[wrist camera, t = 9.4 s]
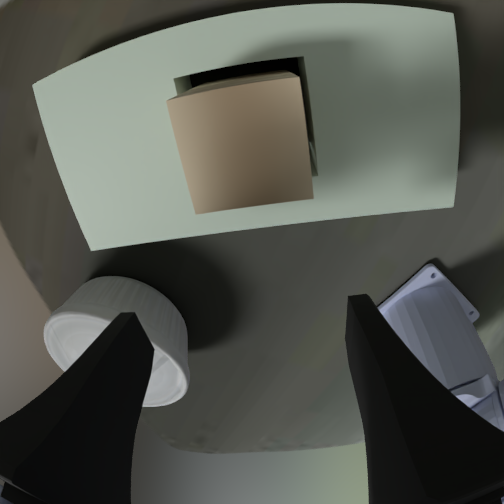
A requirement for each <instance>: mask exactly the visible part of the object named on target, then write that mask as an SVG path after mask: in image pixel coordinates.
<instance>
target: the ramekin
mask: <svg viewBox="0 0 504 504" xmlns="http://www.w3.org/2000/svg"><path fill="white" fill-rule="evenodd" d="M121 312H135V313H136V315H137V317H138V319H139V321H140V323H141V325H142V327H143V329H144V330H145V332H146V334H147V336H148V338H149V340H150V342H151V343H152V345H153V347H154V349H155V351H154V359H153V366H152V372H151V377H150V380H149V384H148V388H147V391H146V395H145V398H144V402H143V405H142V406H143V407H155V406H163V405H168V404H171V403H174V402H176V401H178V400H179V399H181V398H182V397H183V396H184V395H185V393H186V392H187V390H188V386H189V380H190V372H189V367H188V364H187V363H188V335H187V329H186V325H185V321H184V319H183V318H182V316H181V314H180V312H179V311H178V310H177V308H176V307H175V306H174V304H173V303H172V302H171V301H170V300H169V299H168V298H167V297H165V296H164V295H163V294H162V293H160V292H159V291H157V290H156V289H154V288H153V287H151V286H149V285H147V284H145V283H143V282H140V281H138V280H135V279H132V278H127V277H122V276H103V277H98V278H95V279H92V280H89V281H88V282H86V283H84V284H83V285H82V286H81V287H80V288H79V289H78V290H77V291H76V292H75V293H74V294H73V295H72V296H71V297H70V298H69V299H68V300H67V301H66V302H65V303H64V304H63V306H61V307H59V308H58V309H56V310H55V311H54V312H53V313H52V314H51V316H50V317H49V319H48V320H47V322H46V325H45V327H44V341H45V344H46V347H47V350H48V352H49V353H50V355H51V356H52V358H53V359H54V361H55V362H56V363H57V364H58V365H59V367H60V368H62V370H63V371H64V372H65V371H66V370H67V369H68V368H69V367H70V366H71V365H72V364H73V363H74V362H75V361H76V360H77V359H78V358H79V357H80V356H81V355H82V354H83V352H84V351H85V350H86V349H87V348H88V347H89V346H90V345H91V344H92V342H93V341H94V340H95V339H96V338H97V337H98V336H99V335H100V334H101V333H102V331H103V330H104V329H105V328H106V327H107V326H108V325H109V324H110V323H111V322H112V321H113V320H114V318H115V317H116V316H117V315H119V314H120V313H121Z"/></svg>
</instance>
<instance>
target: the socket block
mask: <svg viewBox="0 0 504 504" xmlns="http://www.w3.org/2000/svg"><path fill="white" fill-rule="evenodd" d="M290 57H297V60H298V67H299V73H300V80H301V87H302V94H303V101H304V109H305V117H306V125H307V133H308V142H309V151H310V164H311V174H312V184H313V194H314V199H309V200H301V201H292V202H284V203H276V204H268V205H261V206H253V207H246V208H238V209H231V210H224V211H217V212H210V213H204V214H197V215H196V214H195V210H194V207H193V203H192V200H191V196H190V192H189V189H188V185H187V181H186V178H185V174H184V170H183V167H182V163H181V159H180V155H179V151H178V147H177V144H176V140H175V136H174V132H173V128H172V124H171V120H170V116H169V112H168V108H167V103H166V101H167V100H169V99H171V98H173V97H175V96H177V95H179V94H181V93H183V92H186V91H188V90H190V89H192V84H191V80H190V74H194V73H198V72H203V71H208V70H212V69H217V68H222V67H228V66H233V65H239V64H245V63H251V62H258V61H265V60H273V59H281V58H290ZM32 86H33V90H34V94H35V98H36V101H37V105H38V109H39V112H40V116H41V119H42V123H43V126H44V129H45V133H46V136H47V139H48V142H49V145H50V148H51V151H52V154H53V157H54V160H55V163H56V166H57V169H58V172H59V174H60V177H61V180H62V182H63V185H64V188H65V190H66V193H67V195H68V198H69V200H70V203H71V205H72V208H73V210H74V213H75V215H76V217H77V220H78V222H79V224H80V227H81V229H82V231H83V234H84V236H85V238H86V240H87V242H88V245H89V247H90V249H91V251H94V250H101V249H107V248H114V247H121V246H128V245H134V244H141V243H148V242H155V241H163V240H170V239H177V238H184V237H192V236H199V235H207V234H214V233H222V232H230V231H238V230H245V229H253V228H262V227H270V226H278V225H286V224H295V223H303V222H312V221H321V220H330V219H339V218H348V217H357V216H367V215H376V214H386V213H396V212H406V211H417V210H427V209H438V208H449V207H453V206H454V198H455V190H456V181H457V170H458V158H459V141H460V76H459V59H458V47H457V37H456V29H455V21H454V14H453V13H449V12H443V11H437V10H431V9H424V8H416V7H407V6H397V5H383V4H362V3H327V4H305V5H292V6H281V7H272V8H264V9H256V10H250V11H243V12H237V13H232V14H226V15H221V16H216V17H211V18H207V19H202V20H198V21H194V22H190V23H186V24H182V25H178V26H174V27H171V28H167V29H164V30H161V31H157V32H154V33H151V34H148V35H145V36H142V37H139V38H136V39H133V40H130V41H127V42H124V43H122V44H119V45H116V46H114V47H111V48H109V49H106V50H104V51H101V52H99V53H96V54H94V55H92V56H89V57H87V58H85V59H83V60H80V61H78V62H76V63H74V64H72V65H70V66H67V67H65V68H63V69H61V70H59V71H57V72H55V73H53V74H51V75H50V76H48V77H46V78H44V79H42V80H40V81H38V82H36V83H35V84H33V85H32Z"/></svg>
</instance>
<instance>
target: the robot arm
mask: <svg viewBox="0 0 504 504" xmlns="http://www.w3.org/2000/svg"><path fill="white" fill-rule="evenodd" d="M433 273H434V274H433ZM432 274H433V275H432ZM479 315H480V314H479V312H478V311H477V309H476V308H475V307H474V306H473V305H472V304H471V303H470V302H469V301H468V300H467V299H466V297H465V296H464V295H463V294H462V293H461V292H460V291H459V290H458V289H457V288H456V287H455V286H454V285H453V284H452V283H451V282H450V281H449V279H448V278H447V277H446V276H445V275H444V274H443V273H442V272H441V271H440V270H439V269H438V268H437V267H436V266H435V265H434V264H431V263H430V264H427V265H426V266H424V267H423V268H422V269H421V270H420V271H419V272H418V273H417V274H416V275H414V276H413V277H412V278H411V279H410V280H409V281H408V282H407V283H406V284H404V285H403V286H402V287H401V288H400V289H399V290H398V291H396V292H395V293H394V294H393V295H392V296H391V297H389V298H388V299H387V300H386V301H385V302H383V303H382V304H381V305H380V306H379V307H376V305H375V304H374V302H373V301H372V299H371V298H370V296H368V295H367V294H361V295H353V296H348V305H347V320H346V334H345V341H346V348H347V355H348V362H349V368H350V372H351V376H352V380H353V384H354V388H355V392H356V396H357V400H358V405H359V409H360V413H361V418H362V422H363V428H364V435H365V444H366V455H367V468H368V487H369V488H368V489H369V504H504V379H503V380H502V381H501V382H500V381H499V380H498V379H497V374H496V371H495V368H494V366H493V364H492V362H491V359H490V357H489V355H488V353H487V351H486V349H485V347H484V345H483V343H482V341H481V339H480V337H479V335H478V333H477V331H476V329H475V327H474V325H473V324H472V323H473V322H474V321H476V320H477V319H478V318H479ZM154 351H155V349H154V347H153V345H152V343H151V342H150V340H149V338H148V336H147V334H146V332H145V330H144V329H143V327H142V325H141V323H140V321H139V319H138V317H137V315H136V313H135V312H121V313H120V314H119V315H117V316H116V317H115V318H114V320H113V321H112V322H111V323H110V324H109V325H108V326H107V327H106V328H105V329H104V330H103V331H102V333H101V334H100V335H99V336H98V337H97V338H96V339H95V340H94V341H93V342H92V344H91V345H90V346H89V347H88V348H87V349H86V350H85V351H84V352H83V354H82V355H81V356H80V357H79V358H78V359H77V360H76V361H75V362H74V363H73V364H72V365H71V366H70V367H69V368H68V369H67V370H66V371H65V372H64V373H63V374H62V375H61V377H59V378H58V379H57V380H56V381H55V382H54V383H53V384H52V385H51V386H50V387H48V388H47V389H46V390H45V391H44V392H43V393H41V394H40V395H39V396H38V397H36V398H35V399H34V400H32V401H31V402H30V403H28V404H27V405H26V406H24V407H23V408H22V409H21V410H19V411H17V412H16V413H14V414H13V415H11V416H9V417H8V418H6V419H5V420H3V421H1V422H0V479H1V480H3V481H5V483H4V486H2V485H0V504H131V467H132V455H133V446H134V439H135V433H136V428H137V424H138V420H139V416H140V413H141V409H142V405H143V402H144V398H145V395H146V391H147V388H148V384H149V380H150V377H151V372H152V366H153V359H154Z"/></svg>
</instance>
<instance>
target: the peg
mask: <svg viewBox="0 0 504 504" xmlns="http://www.w3.org/2000/svg"><path fill="white" fill-rule="evenodd" d="M166 103H167V108H168V112H169V116H170V120H171V124H172V128H173V132H174V136H175V140H176V144H177V147H178V151H179V155H180V159H181V163H182V167H183V170H184V174H185V178H186V181H187V185H188V189H189V192H190V196H191V200H192V203H193V207H194V210H195V214H196V215H197V214H204V213H210V212H217V211H224V210H231V209H238V208H246V207H253V206H261V205H268V204H276V203H284V202H292V201H301V200H309V199H314V194H313V184H312V174H311V164H310V155H309V146H308V137H307V129H306V121H305V113H304V106H303V98H302V91H301V84H300V78H299V77H298V76H297V75H295V74H293V73H291V72H289V71H287V70H277V71H269V72H262V73H255V74H249V75H243V76H237V77H231V78H226V79H221V80H215V81H211V82H206V83H203V84H201V85H199V86H197V87H194V88H192V89H190V90H188V91H186V92H183V93H181V94H179V95H177V96H175V97H173V98H171V99H169V100H167V101H166Z"/></svg>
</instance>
